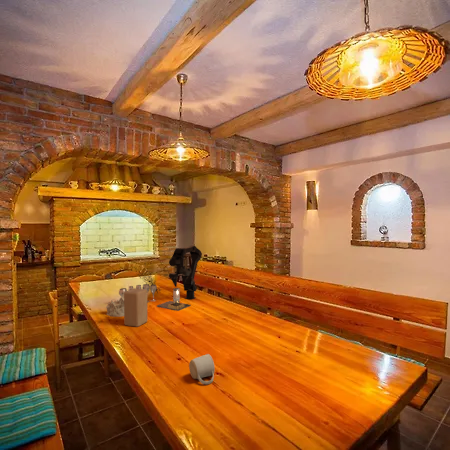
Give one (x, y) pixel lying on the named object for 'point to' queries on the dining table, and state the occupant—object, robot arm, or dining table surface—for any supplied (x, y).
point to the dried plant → (148, 277)
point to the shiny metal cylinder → (176, 296)
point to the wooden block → (135, 307)
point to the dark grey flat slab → (170, 306)
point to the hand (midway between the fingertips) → (179, 285)
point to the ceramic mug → (202, 368)
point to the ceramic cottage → (116, 307)
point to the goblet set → (145, 286)
